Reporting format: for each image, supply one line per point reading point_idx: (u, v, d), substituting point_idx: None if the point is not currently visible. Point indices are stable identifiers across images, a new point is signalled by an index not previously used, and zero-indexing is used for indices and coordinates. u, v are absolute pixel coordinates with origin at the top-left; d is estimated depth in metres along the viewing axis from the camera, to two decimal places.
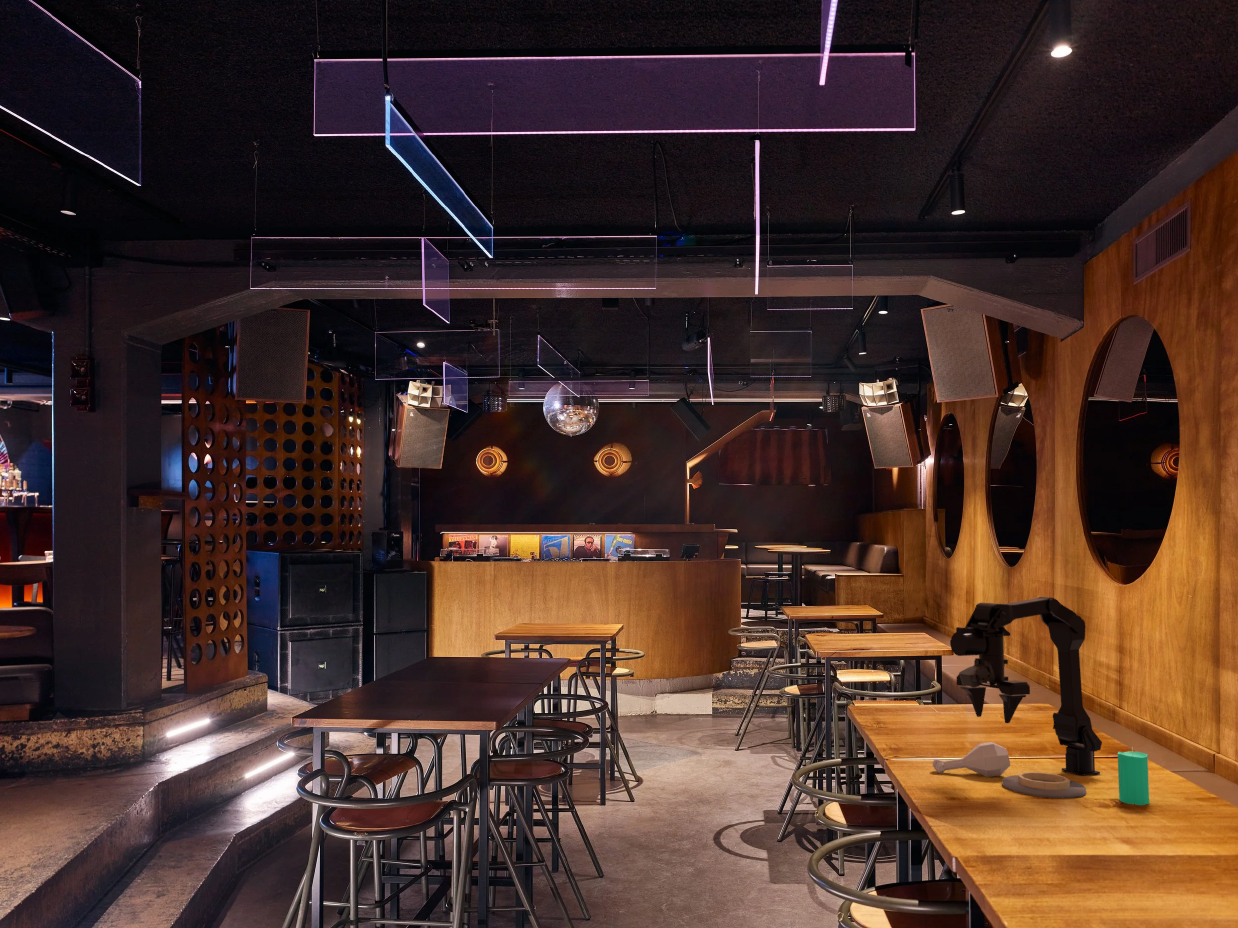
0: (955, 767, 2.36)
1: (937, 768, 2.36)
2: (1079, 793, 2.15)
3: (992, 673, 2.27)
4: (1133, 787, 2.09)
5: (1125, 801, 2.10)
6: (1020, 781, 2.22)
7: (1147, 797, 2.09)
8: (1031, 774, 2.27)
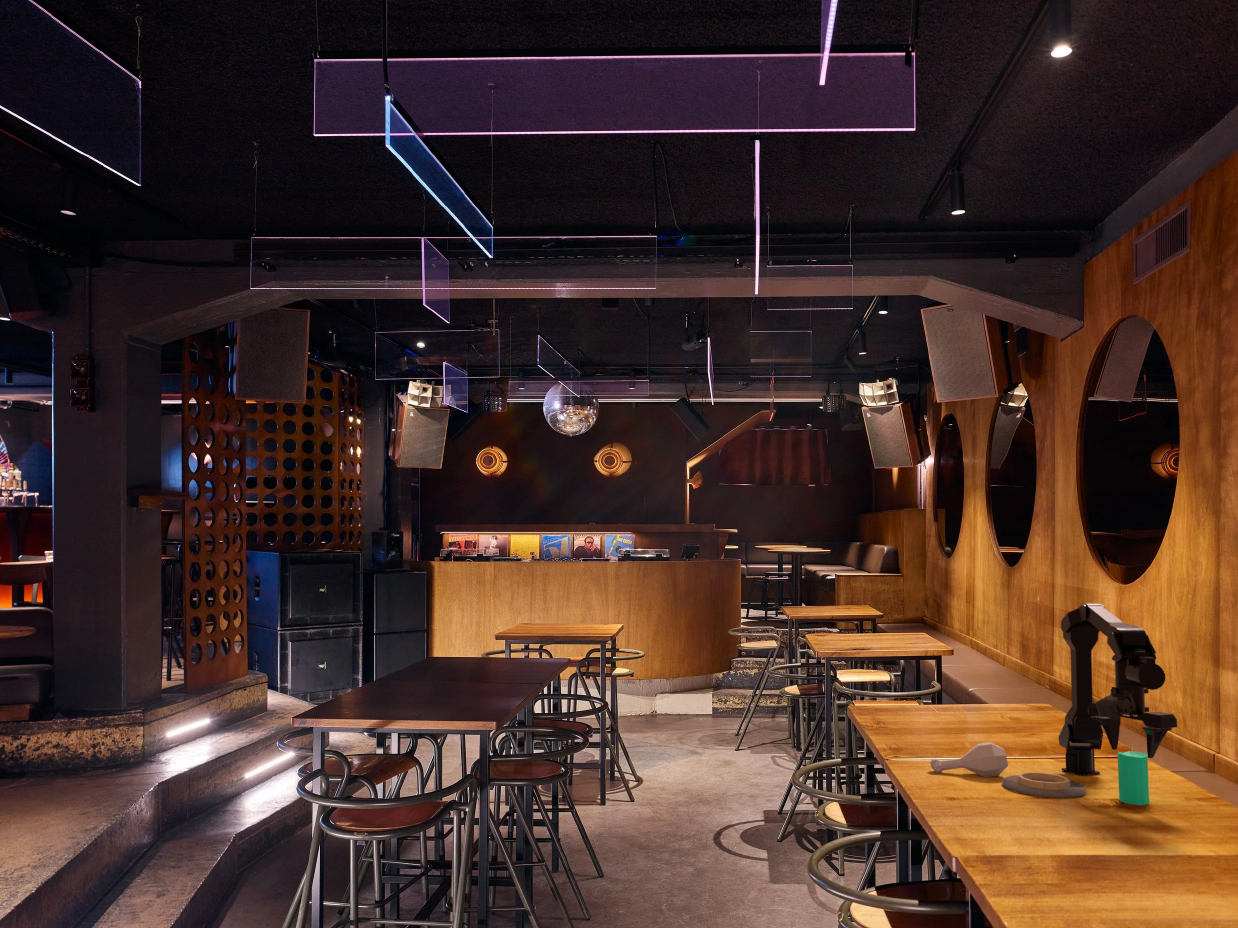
0: (953, 767, 2.36)
1: (935, 768, 2.36)
2: (1079, 793, 2.15)
3: (1133, 704, 2.10)
4: (1132, 787, 2.09)
5: (1125, 801, 2.10)
6: (1020, 781, 2.22)
7: (1147, 797, 2.09)
8: (1031, 774, 2.27)
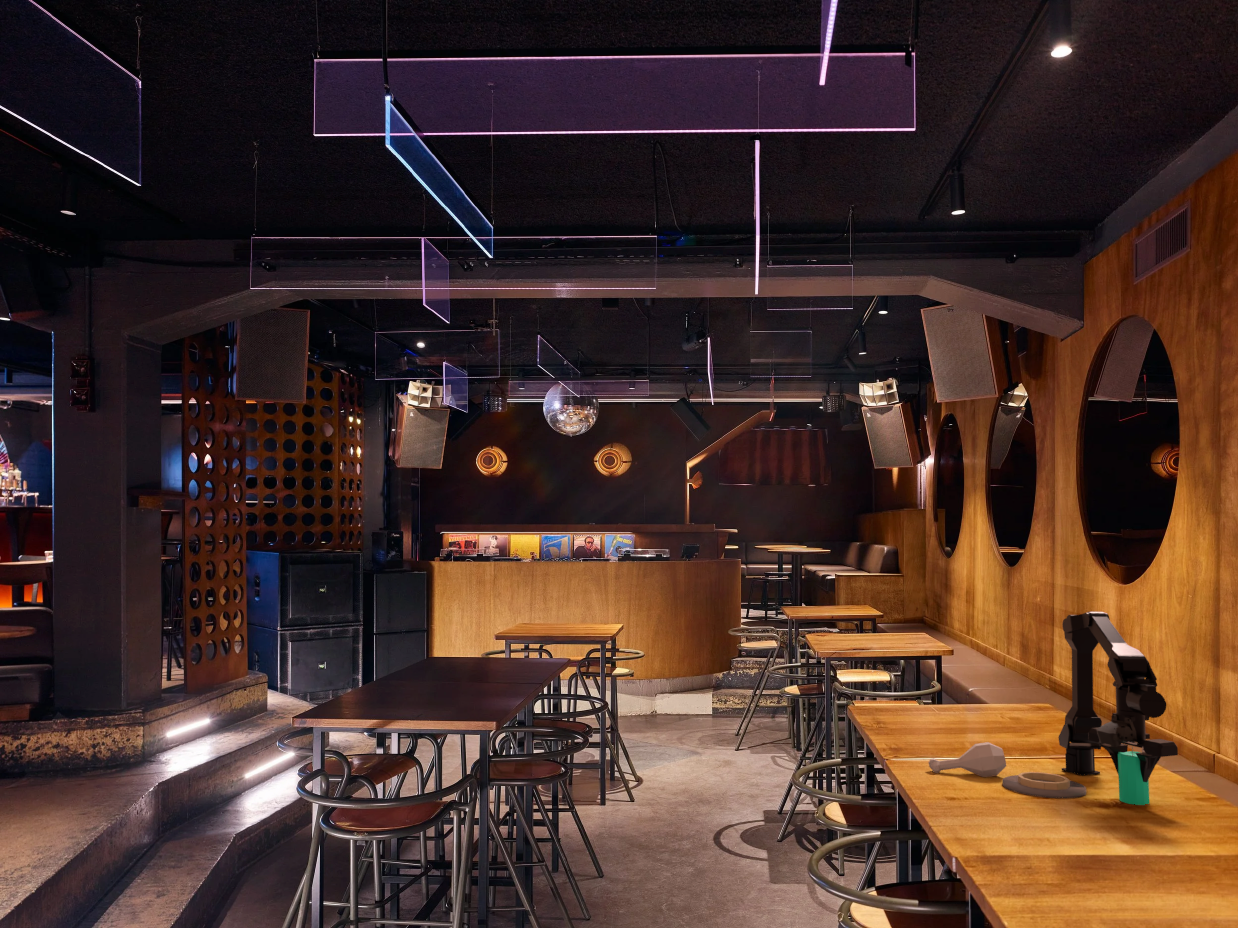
0: (951, 767, 2.36)
1: (933, 768, 2.36)
2: (1079, 793, 2.15)
3: (1134, 731, 2.09)
4: (1133, 787, 2.09)
5: (1125, 801, 2.10)
6: (1020, 781, 2.22)
7: (1147, 797, 2.09)
8: (1031, 774, 2.27)
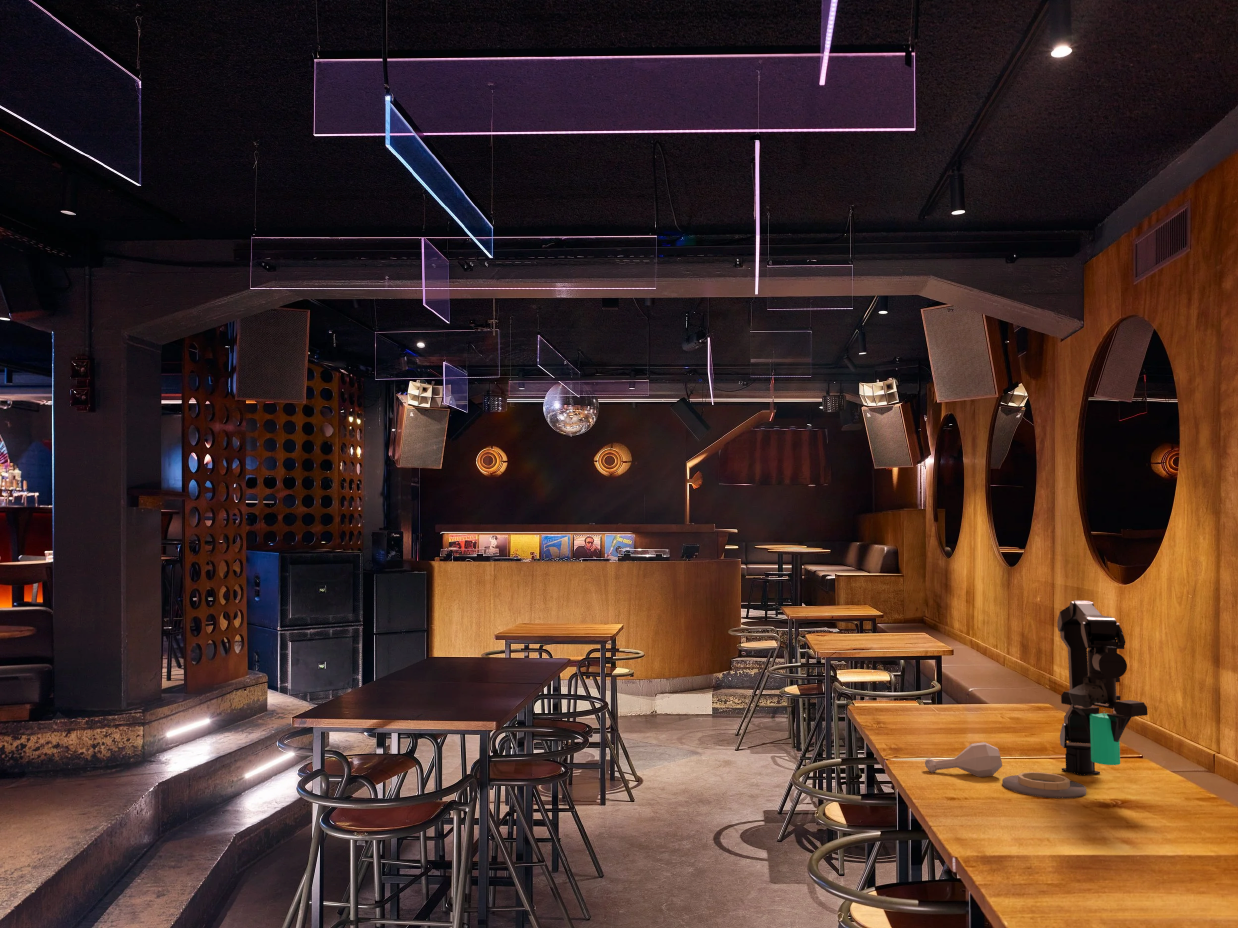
0: (947, 767, 2.36)
1: (929, 767, 2.37)
2: (1079, 793, 2.15)
3: (1105, 692, 2.13)
4: (1104, 748, 2.13)
5: (1097, 761, 2.14)
6: (1020, 781, 2.22)
7: (1118, 757, 2.13)
8: (1031, 774, 2.27)
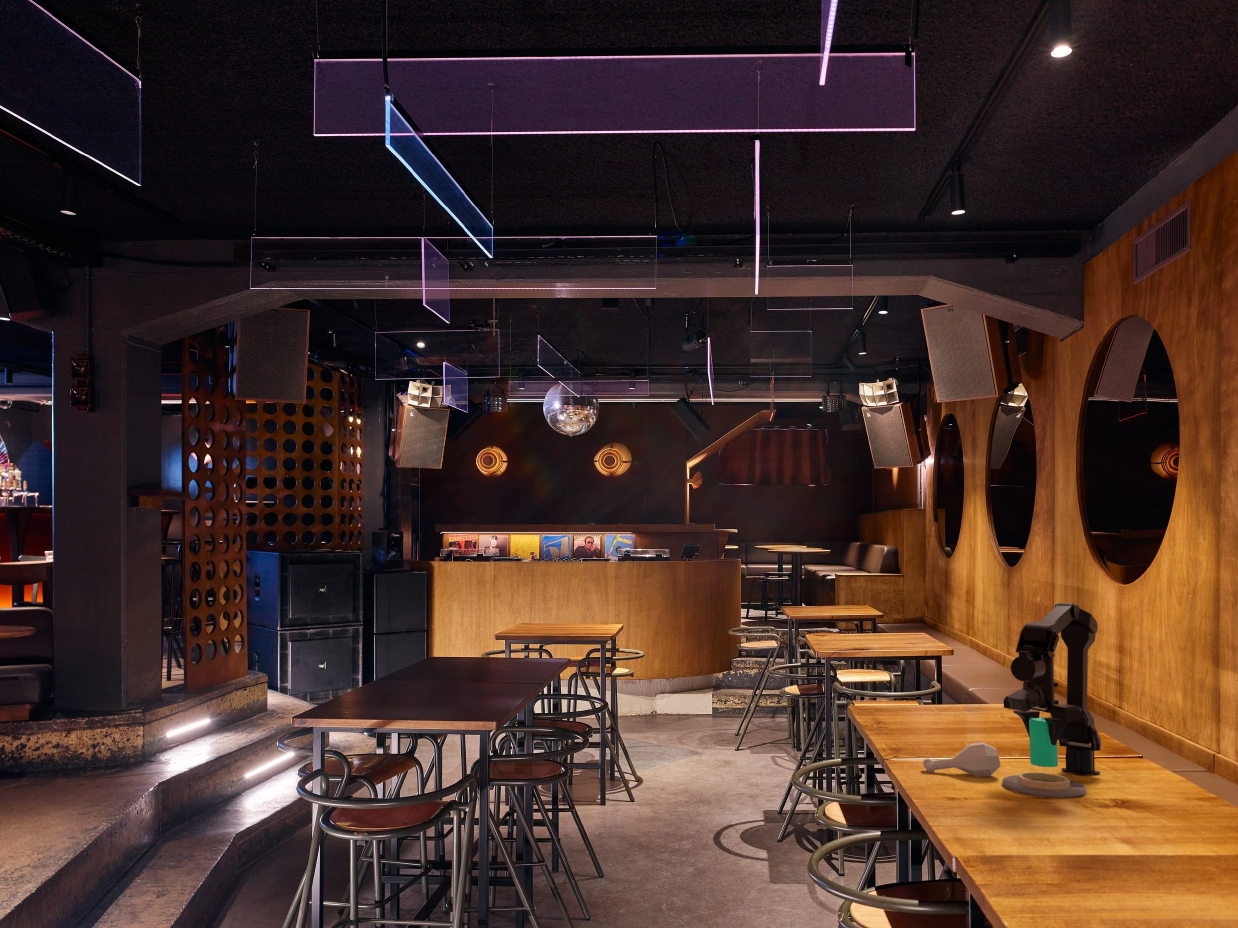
0: (945, 767, 2.36)
1: (927, 767, 2.37)
2: (1079, 793, 2.15)
3: (1042, 697, 2.21)
4: (1041, 750, 2.20)
5: (1035, 764, 2.21)
6: (1020, 781, 2.22)
7: (1055, 759, 2.20)
8: (1031, 774, 2.27)
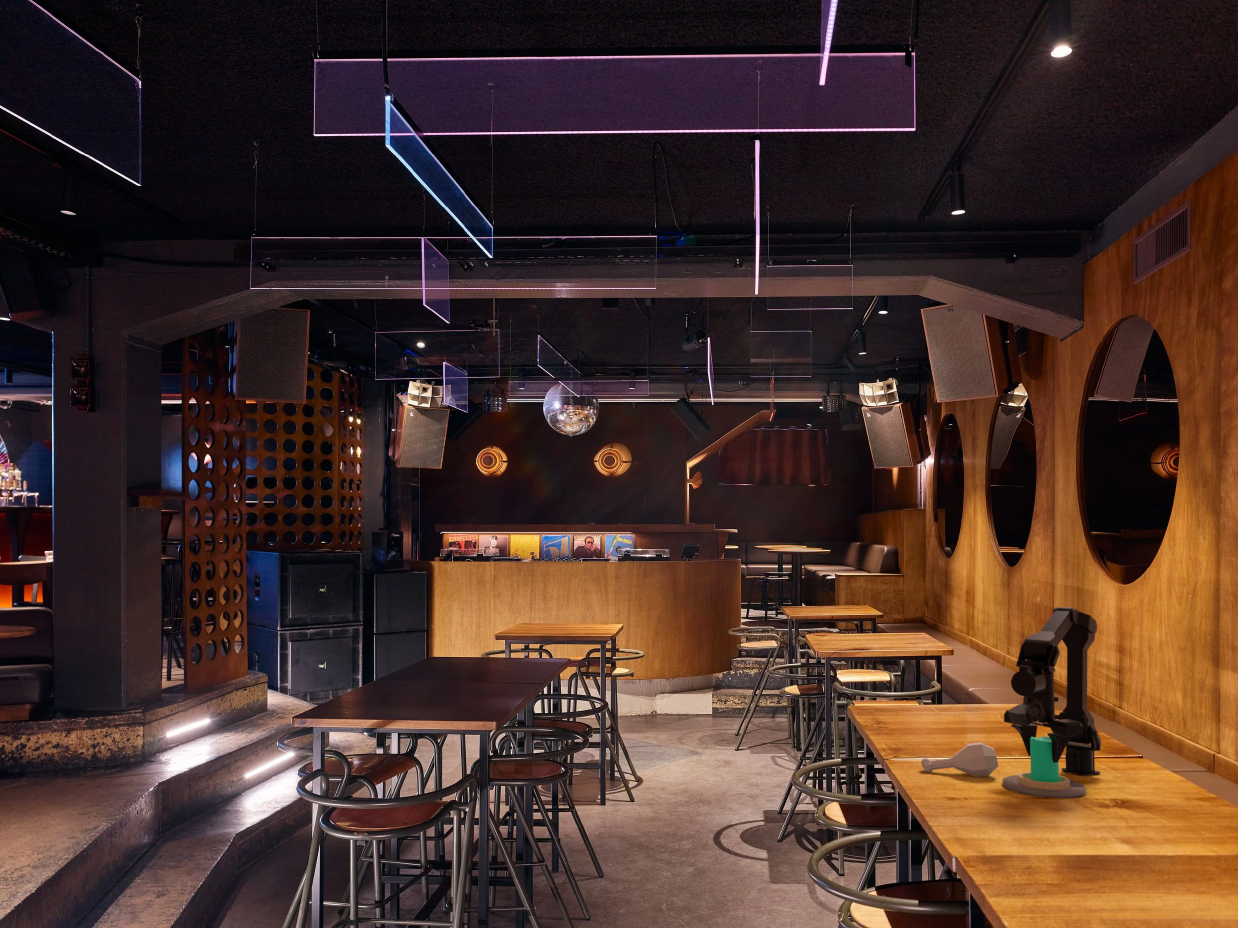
0: (943, 766, 2.36)
1: (925, 767, 2.37)
2: (1079, 793, 2.15)
3: (1043, 712, 2.20)
4: (1042, 770, 2.20)
5: None
6: (1020, 781, 2.22)
7: (1056, 779, 2.20)
8: None
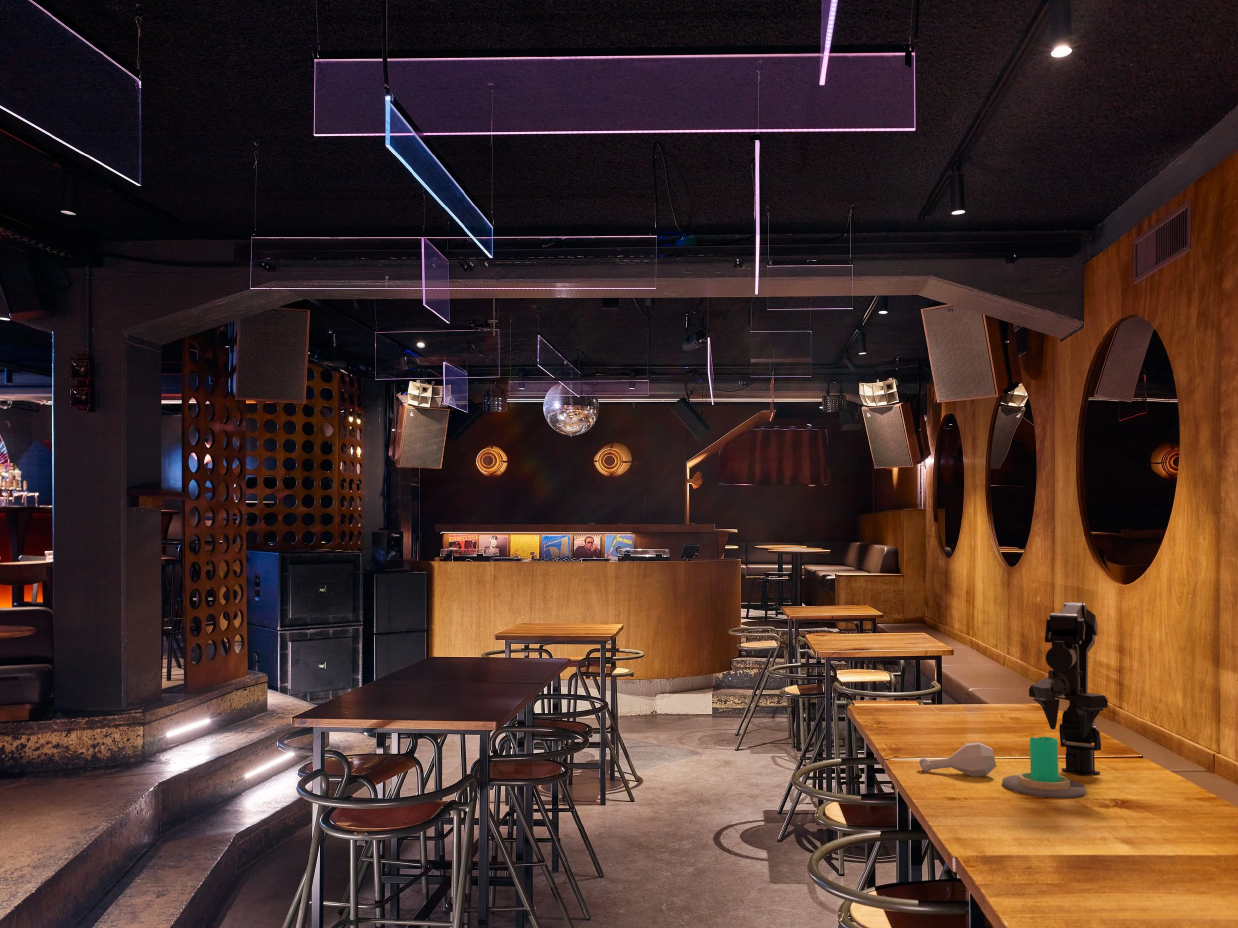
0: (941, 766, 2.36)
1: (922, 767, 2.37)
2: (1079, 793, 2.15)
3: (1068, 686, 2.22)
4: (1042, 770, 2.20)
5: None
6: (1020, 781, 2.22)
7: (1056, 779, 2.20)
8: None
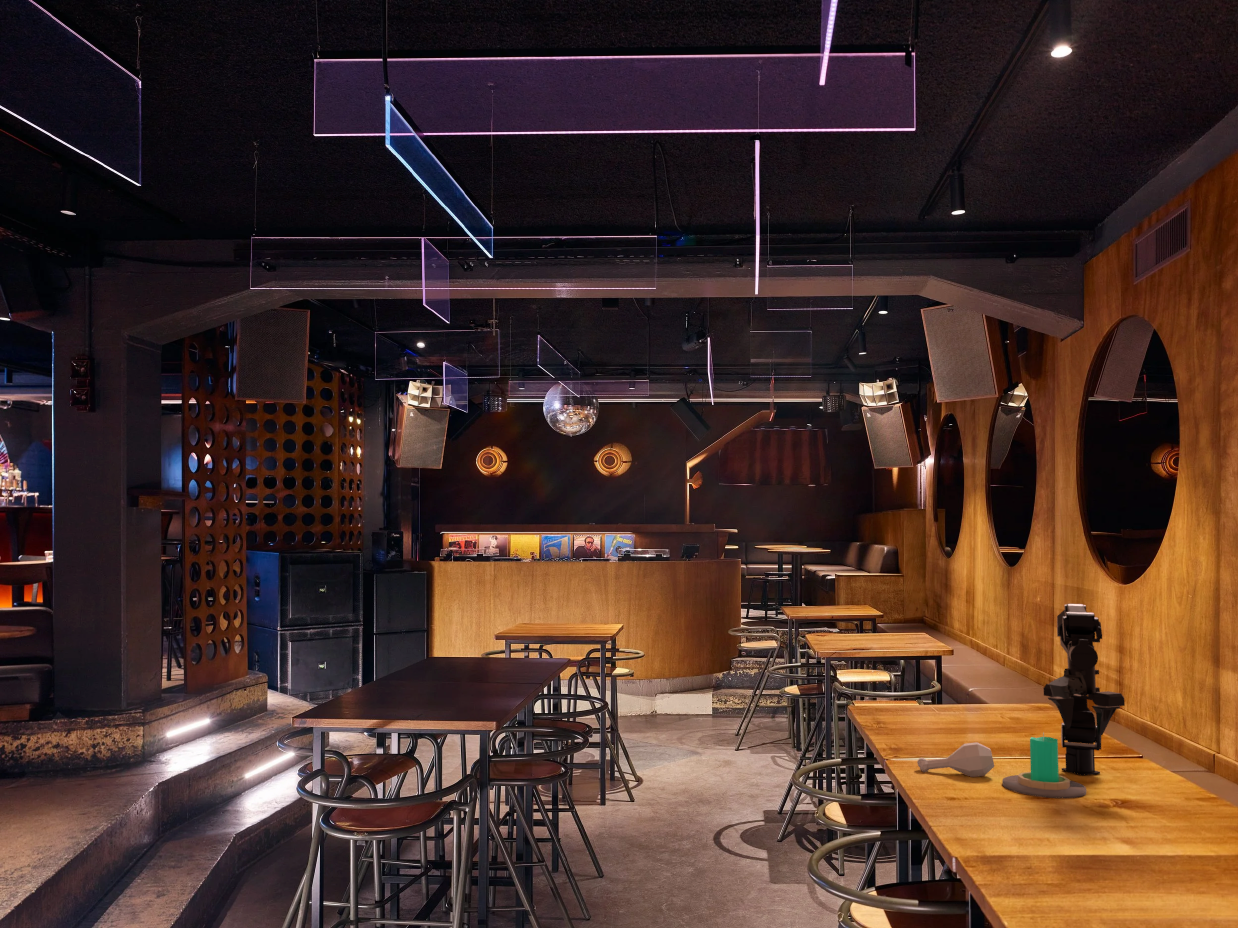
0: (939, 766, 2.36)
1: (920, 767, 2.37)
2: (1079, 793, 2.15)
3: (1084, 684, 2.22)
4: (1042, 770, 2.20)
5: None
6: (1020, 781, 2.22)
7: (1056, 779, 2.20)
8: None
